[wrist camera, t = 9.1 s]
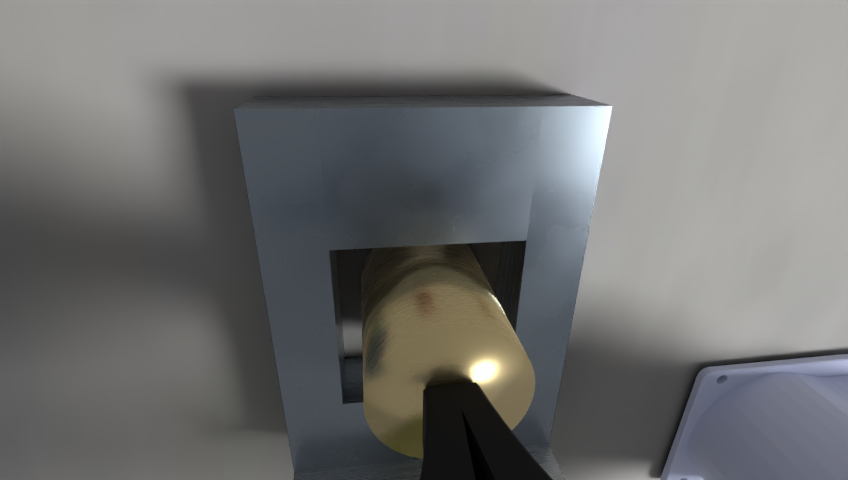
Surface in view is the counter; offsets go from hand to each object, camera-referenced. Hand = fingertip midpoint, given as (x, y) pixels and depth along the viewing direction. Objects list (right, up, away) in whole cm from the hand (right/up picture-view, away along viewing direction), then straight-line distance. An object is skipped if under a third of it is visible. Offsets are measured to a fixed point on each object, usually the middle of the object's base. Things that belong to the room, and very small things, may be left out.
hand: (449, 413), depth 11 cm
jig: (-1, +3, +5) cm, 6 cm away
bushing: (-1, +3, +5) cm, 6 cm away
